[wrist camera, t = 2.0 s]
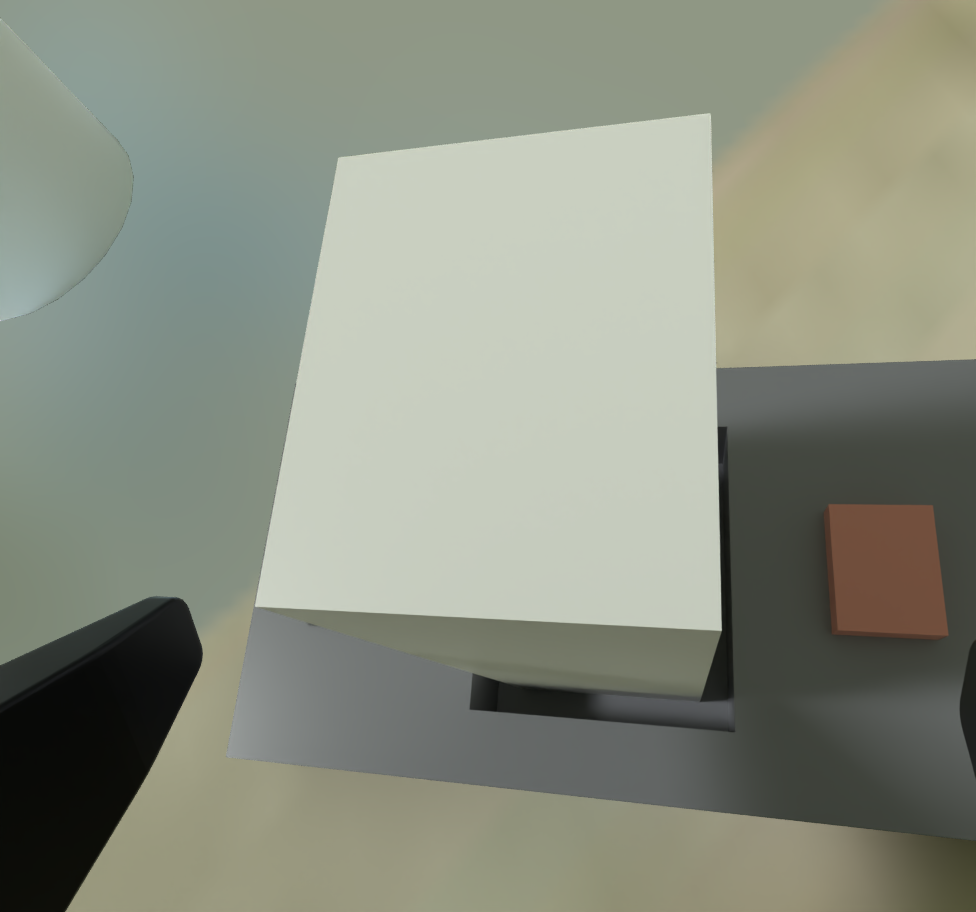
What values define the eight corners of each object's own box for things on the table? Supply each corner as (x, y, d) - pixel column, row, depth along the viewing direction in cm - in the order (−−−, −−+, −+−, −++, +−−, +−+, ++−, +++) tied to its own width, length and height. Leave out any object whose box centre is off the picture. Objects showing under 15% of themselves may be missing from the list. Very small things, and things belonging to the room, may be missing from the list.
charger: (697, 487, 18) (710, 113, 7) (699, 701, 17) (721, 630, 6) (536, 486, 19) (338, 156, 8) (523, 688, 18) (254, 606, 7)
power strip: (956, 416, 18) (1016, 344, 15) (1013, 832, 15) (1104, 858, 12) (344, 426, 22) (283, 372, 19) (291, 754, 19) (210, 757, 16)
